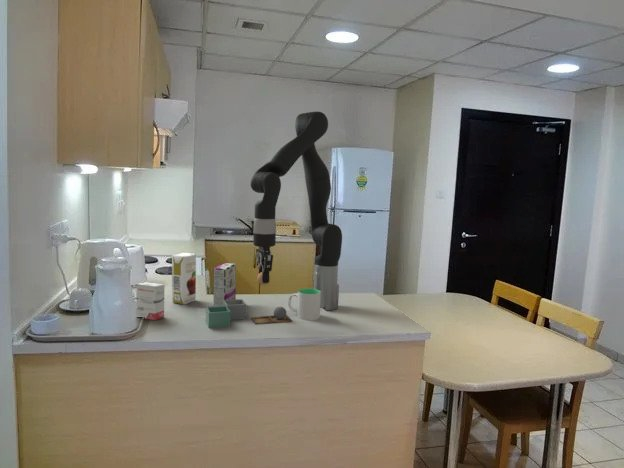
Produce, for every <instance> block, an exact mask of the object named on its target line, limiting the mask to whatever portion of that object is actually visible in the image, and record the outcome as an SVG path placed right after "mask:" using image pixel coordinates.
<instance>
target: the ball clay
mask: <svg viewBox="0 0 624 468" xmlns="http://www.w3.org/2000/svg"><path fill="white" fill-rule="evenodd" d="M256 280H257V283H258V284H259V285H262V286H266V285H268V284H269V283H270V281H271V275H270V274H269V283H263V282H262V272H261V273H259V272H258V274H257V278H256Z"/></svg>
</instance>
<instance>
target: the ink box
mask: <svg viewBox="0 0 624 468" xmlns="http://www.w3.org/2000/svg"><path fill="white" fill-rule="evenodd" d="M135 299H136V306H137V314H138V315H139V316H143V317H145V319H144V320H153V321H157V320H159V319H162V318H164V317H165V284H162V283H153V282H148V281H145V282H140V283H137V284H136V298H135Z"/></svg>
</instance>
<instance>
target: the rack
mask: <svg viewBox="0 0 624 468" xmlns="http://www.w3.org/2000/svg"><path fill="white" fill-rule="evenodd" d="M250 320H251V321H252V322H253V324H254V325H255V326H257V325H265V324H266V325H268V324H278V323H279V324H282V323H292V322H293V319H292V318H290V316H288V315H287V314H286V316H285V318H284V319H281V320H278V319H276V318H275V317H274V314H273V315H261V316H250Z"/></svg>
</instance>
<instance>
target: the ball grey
mask: <svg viewBox="0 0 624 468" xmlns="http://www.w3.org/2000/svg"><path fill="white" fill-rule="evenodd" d="M272 313H273V315H274V317H275V318H276V319H278V320H281V319H284V318H285V316H286V315H287V310H286V309H285V307H283V306H277V307H275V308H274V310H273V312H272Z"/></svg>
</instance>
